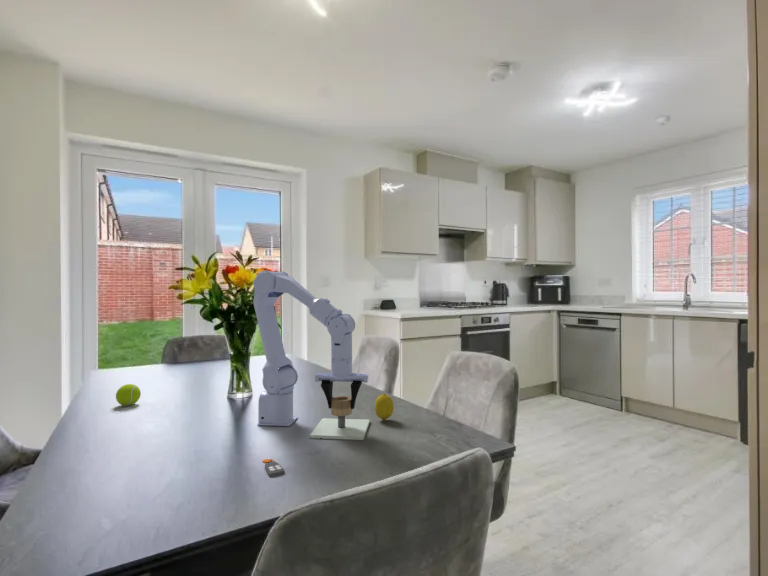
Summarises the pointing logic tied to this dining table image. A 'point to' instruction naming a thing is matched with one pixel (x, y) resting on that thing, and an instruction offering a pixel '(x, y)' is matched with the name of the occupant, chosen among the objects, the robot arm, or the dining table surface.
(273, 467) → the key chain
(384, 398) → the lemon
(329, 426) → the white board with peg
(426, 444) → the dining table surface
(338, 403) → the bead
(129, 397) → the tennis ball
